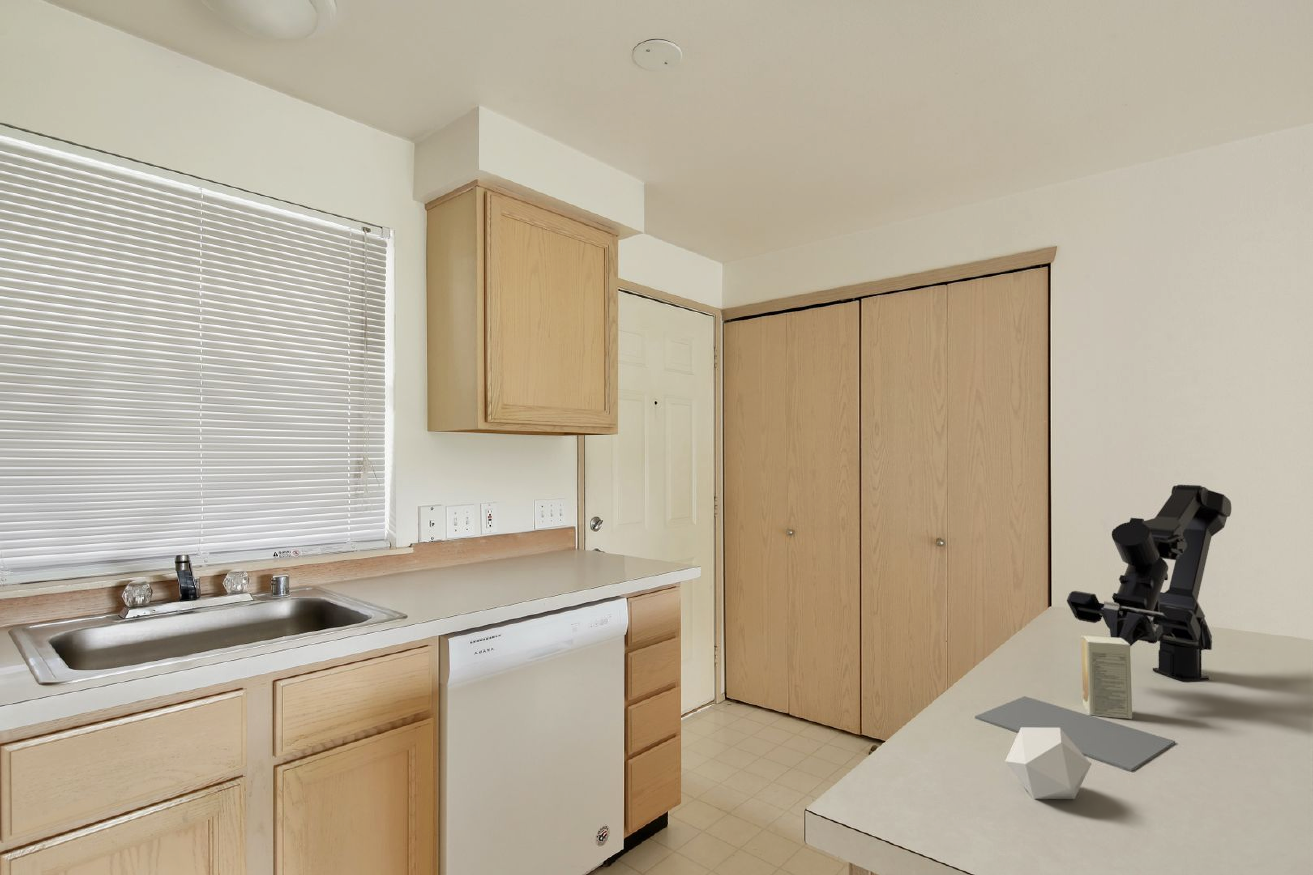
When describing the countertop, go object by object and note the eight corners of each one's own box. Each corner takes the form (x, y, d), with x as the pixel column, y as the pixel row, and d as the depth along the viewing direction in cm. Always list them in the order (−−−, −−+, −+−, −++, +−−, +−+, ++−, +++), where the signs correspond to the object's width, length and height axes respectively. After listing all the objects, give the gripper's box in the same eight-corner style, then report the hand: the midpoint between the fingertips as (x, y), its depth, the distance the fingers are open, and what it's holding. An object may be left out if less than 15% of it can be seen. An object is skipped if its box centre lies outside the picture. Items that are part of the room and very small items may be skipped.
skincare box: (1124, 710, 114) (1124, 637, 114) (1133, 720, 110) (1133, 644, 110) (1080, 705, 116) (1080, 633, 116) (1087, 715, 112) (1087, 640, 112)
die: (1087, 824, 80) (1112, 748, 83) (1017, 781, 81) (1045, 708, 85) (1048, 814, 87) (1073, 745, 91) (985, 775, 89) (1012, 708, 92)
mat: (1024, 697, 119) (1024, 696, 119) (1175, 742, 101) (1175, 740, 101) (975, 717, 110) (975, 715, 110) (1131, 771, 92) (1131, 769, 92)
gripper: (1217, 621, 117) (1195, 698, 111) (1098, 601, 133) (1071, 667, 126) (1202, 580, 113) (1177, 658, 106) (1080, 564, 128) (1051, 631, 122)
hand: (1115, 654), depth 115 cm, fingers closed
